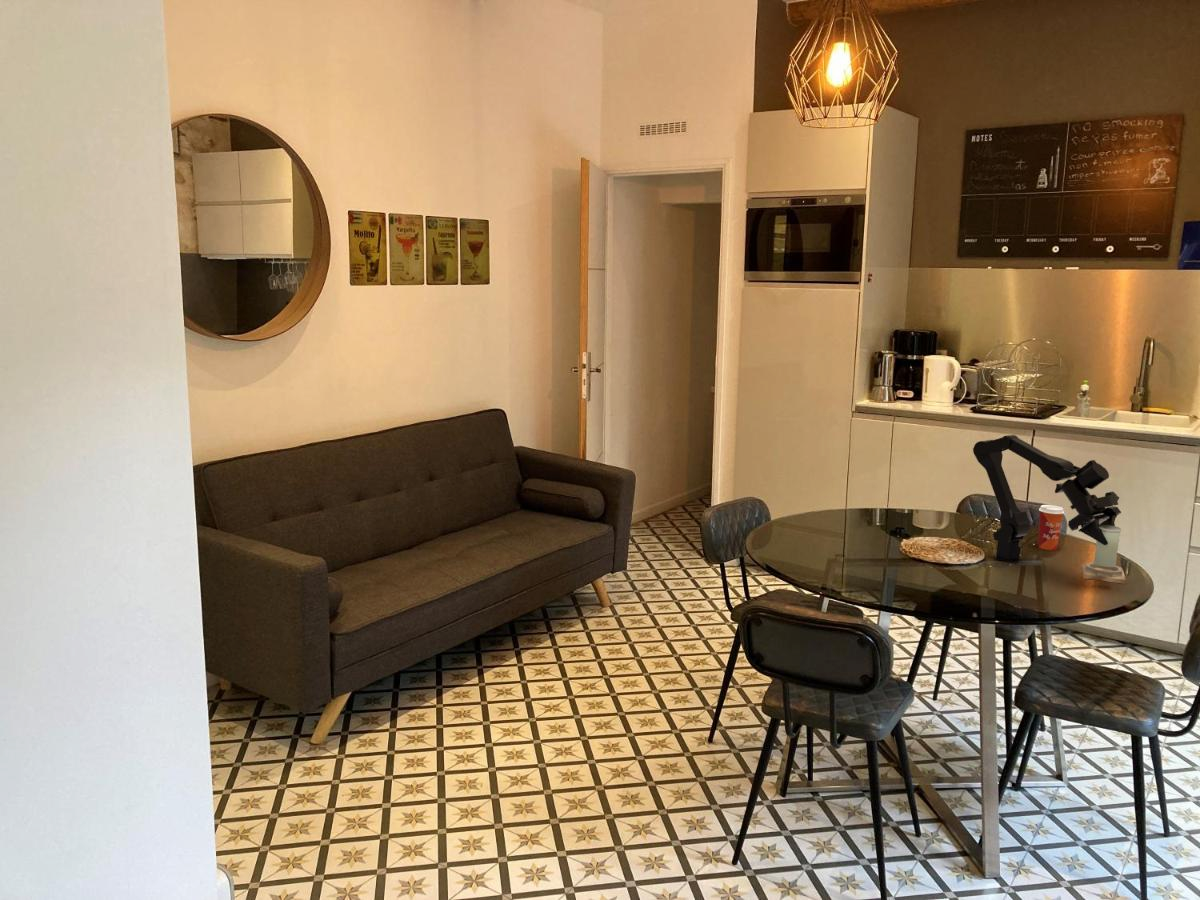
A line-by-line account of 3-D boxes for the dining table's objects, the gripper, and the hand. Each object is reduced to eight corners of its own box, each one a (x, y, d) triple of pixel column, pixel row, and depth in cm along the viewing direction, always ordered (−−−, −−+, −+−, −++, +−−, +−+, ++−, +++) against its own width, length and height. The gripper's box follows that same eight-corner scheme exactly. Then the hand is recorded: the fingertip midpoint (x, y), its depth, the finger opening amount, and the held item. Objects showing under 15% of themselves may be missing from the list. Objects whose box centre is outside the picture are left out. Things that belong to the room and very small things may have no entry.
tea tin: (1095, 565, 271) (1100, 528, 269) (1091, 559, 277) (1096, 523, 275) (1117, 568, 270) (1122, 531, 267) (1113, 562, 275) (1118, 525, 273)
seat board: (1083, 578, 281) (1084, 569, 281) (1081, 568, 291) (1082, 559, 291) (1125, 583, 277) (1126, 574, 276) (1122, 573, 287) (1123, 564, 286)
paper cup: (1045, 552, 308) (1050, 510, 305) (1029, 545, 315) (1033, 504, 313) (1065, 550, 310) (1070, 509, 307) (1049, 544, 317) (1053, 503, 315)
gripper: (1083, 486, 267) (1117, 533, 260) (1118, 479, 277) (1152, 524, 270) (1054, 506, 275) (1086, 553, 268) (1089, 499, 285) (1120, 544, 278)
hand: (1112, 543), depth 271 cm, fingers closed on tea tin, 6 cm apart
